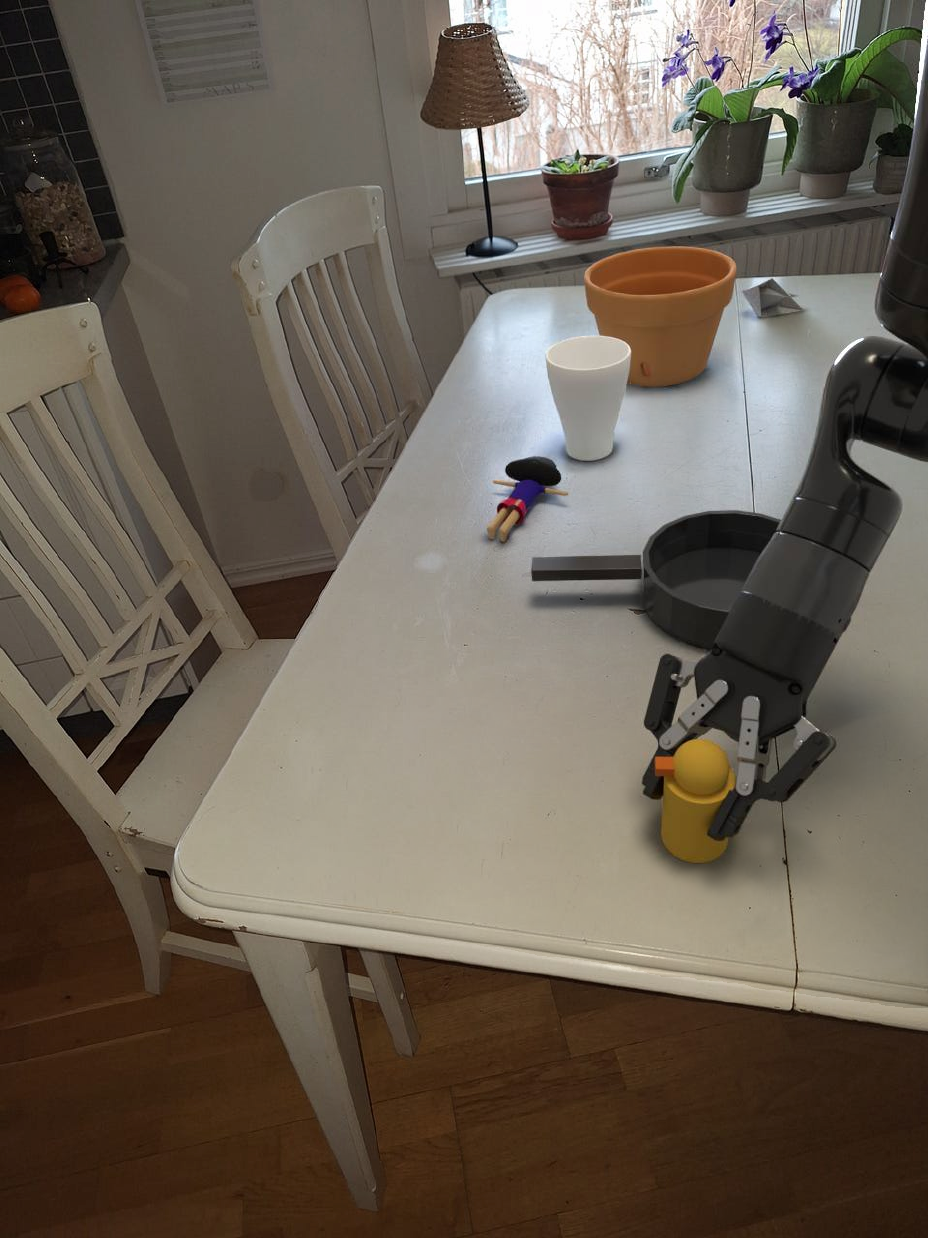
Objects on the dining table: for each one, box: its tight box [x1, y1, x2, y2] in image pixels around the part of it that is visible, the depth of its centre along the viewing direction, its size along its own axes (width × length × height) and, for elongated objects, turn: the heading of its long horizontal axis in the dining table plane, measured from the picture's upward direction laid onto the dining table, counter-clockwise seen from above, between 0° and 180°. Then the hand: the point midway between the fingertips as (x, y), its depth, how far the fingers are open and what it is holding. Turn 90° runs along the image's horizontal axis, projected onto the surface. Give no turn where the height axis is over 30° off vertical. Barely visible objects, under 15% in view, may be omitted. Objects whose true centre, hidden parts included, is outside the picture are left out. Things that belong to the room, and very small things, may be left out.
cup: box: [544, 335, 631, 462], centre depth 113 cm, size 10×10×14 cm
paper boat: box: [741, 277, 804, 319], centre depth 144 cm, size 12×6×9 cm
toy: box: [486, 455, 570, 543], centre depth 106 cm, size 10×5×15 cm
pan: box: [641, 509, 781, 651], centre depth 89 cm, size 17×17×5 cm
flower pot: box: [583, 245, 737, 388], centre depth 130 cm, size 21×21×15 cm
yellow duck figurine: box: [655, 738, 737, 864], centre depth 65 cm, size 6×5×10 cm
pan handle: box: [530, 554, 642, 582], centre depth 90 cm, size 11×2×1 cm, turn 84°
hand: (683, 816), depth 65 cm, fingers closed on yellow duck figurine, 5 cm apart
